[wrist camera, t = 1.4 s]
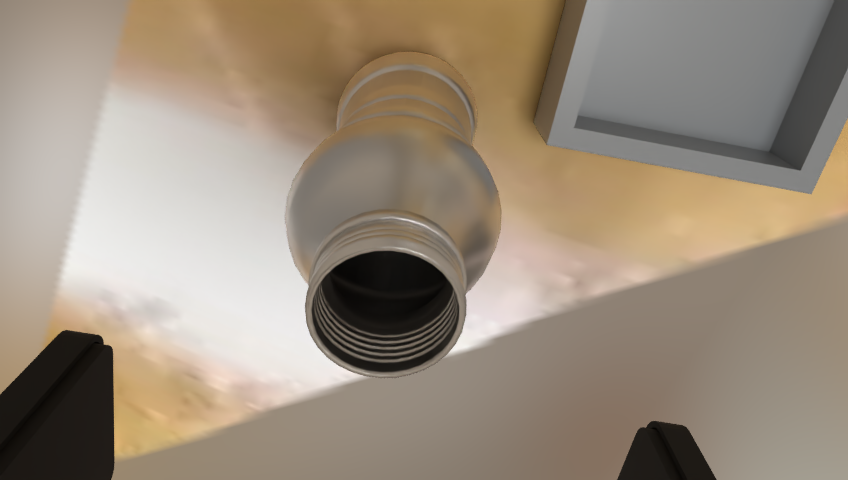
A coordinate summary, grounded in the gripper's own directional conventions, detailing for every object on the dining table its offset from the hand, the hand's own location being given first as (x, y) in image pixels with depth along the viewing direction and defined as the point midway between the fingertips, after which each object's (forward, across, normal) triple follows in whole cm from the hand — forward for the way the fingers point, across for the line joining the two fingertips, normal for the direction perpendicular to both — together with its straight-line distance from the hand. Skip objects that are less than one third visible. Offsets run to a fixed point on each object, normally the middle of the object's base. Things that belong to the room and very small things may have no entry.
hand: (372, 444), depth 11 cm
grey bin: (+24, -13, -9) cm, 28 cm away
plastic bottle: (+24, 0, -1) cm, 24 cm away
